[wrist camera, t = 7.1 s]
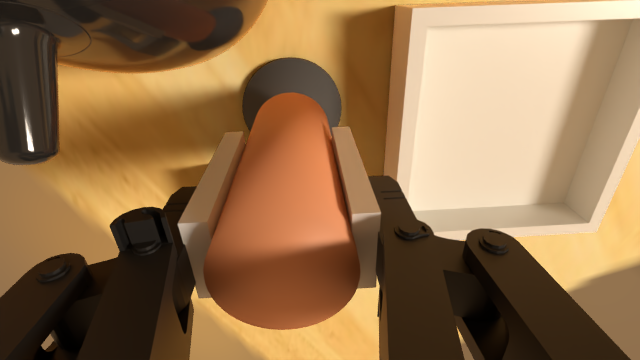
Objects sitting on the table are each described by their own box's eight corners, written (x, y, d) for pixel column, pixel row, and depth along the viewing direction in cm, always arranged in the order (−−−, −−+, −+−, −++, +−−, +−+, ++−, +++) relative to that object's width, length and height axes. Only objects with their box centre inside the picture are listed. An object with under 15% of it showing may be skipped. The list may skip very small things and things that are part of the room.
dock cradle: (395, 5, 19) (412, 8, 16) (642, -4, 19) (703, -3, 16) (380, 215, 26) (391, 244, 23) (563, 205, 26) (596, 232, 23)
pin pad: (236, 59, 20) (235, 60, 19) (340, 55, 20) (341, 56, 20) (250, 154, 23) (249, 156, 22) (340, 149, 23) (341, 152, 22)
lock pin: (249, 94, 17) (186, 218, 8) (327, 90, 18) (361, 206, 8) (259, 165, 19) (219, 334, 10) (330, 160, 19) (359, 323, 10)
